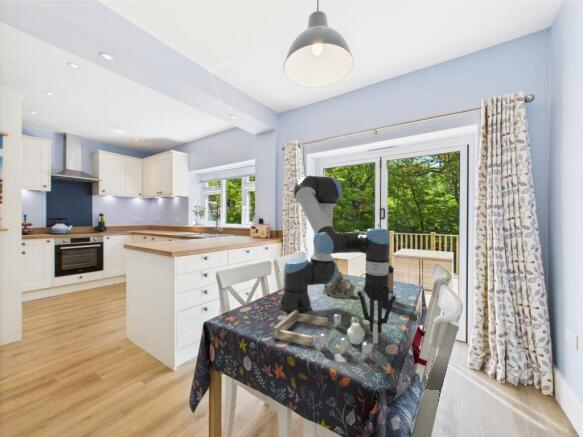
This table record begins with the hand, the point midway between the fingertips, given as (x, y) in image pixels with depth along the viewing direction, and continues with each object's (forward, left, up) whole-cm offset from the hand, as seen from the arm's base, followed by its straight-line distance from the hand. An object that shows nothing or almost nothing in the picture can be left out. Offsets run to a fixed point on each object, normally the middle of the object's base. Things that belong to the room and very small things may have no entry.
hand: (375, 341), depth 88 cm
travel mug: (0, +45, -2) cm, 45 cm away
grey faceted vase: (-7, 0, -2) cm, 7 cm away
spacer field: (-9, 0, -2) cm, 9 cm away
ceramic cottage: (-26, +54, -2) cm, 60 cm away
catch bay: (-27, 0, -2) cm, 27 cm away
